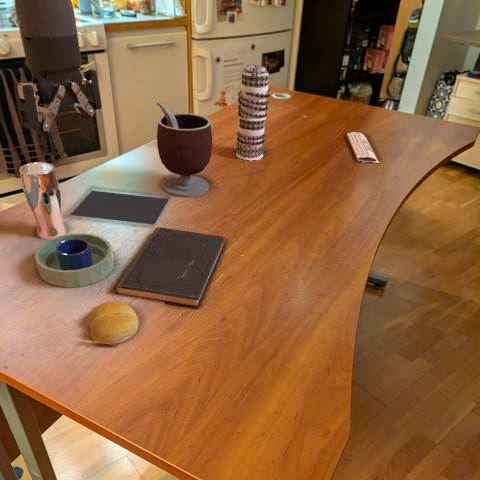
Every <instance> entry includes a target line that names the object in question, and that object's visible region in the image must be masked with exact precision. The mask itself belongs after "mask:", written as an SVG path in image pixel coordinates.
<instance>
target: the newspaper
mask: <svg viewBox="0 0 480 480" xmlns="http://www.w3.org/2000/svg"><path fill="white" fill-rule="evenodd" d="M346 137H347V139H348V142H349V144H350V147H351V149H352V152H353V154H354V156H355V158H356V161H357V162H360V161H362V162H360V163H365V162H372V163H376V164H377V163H378V164H380V161H379V159H378V158H377V155H376V153H375V152H374V150H373V148H372V147H371V144H370V142H369V140H368V139H367V137H365V134H363V133H362V132H357V131H351V132H347V133H346ZM372 163H371V164H372Z"/></svg>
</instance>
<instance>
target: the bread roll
mask: <svg viewBox="0 0 480 480" xmlns="http://www.w3.org/2000/svg"><path fill="white" fill-rule="evenodd" d="M139 324H140V321H139V317H138V316H137V314H136V312H135V310H134V309H133V307H131V306H129V305H128V304H127V303H125V302H121V301H118V300H111V301H105V302H103V303H100V304H98V305H97V306H95V307H93V309H92V310H91V311H90V312H89V314H88V316H87V325H88V327H89V329H90V330H89V336H90V338H91V339H92V341H94V342H97V343H102V344H107V345H118V344H121V343H123V342H126V341H127V340H129V339H131V338H132V337H133V336H134V335H135V334H136V333H137V332H138V328H139Z"/></svg>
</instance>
